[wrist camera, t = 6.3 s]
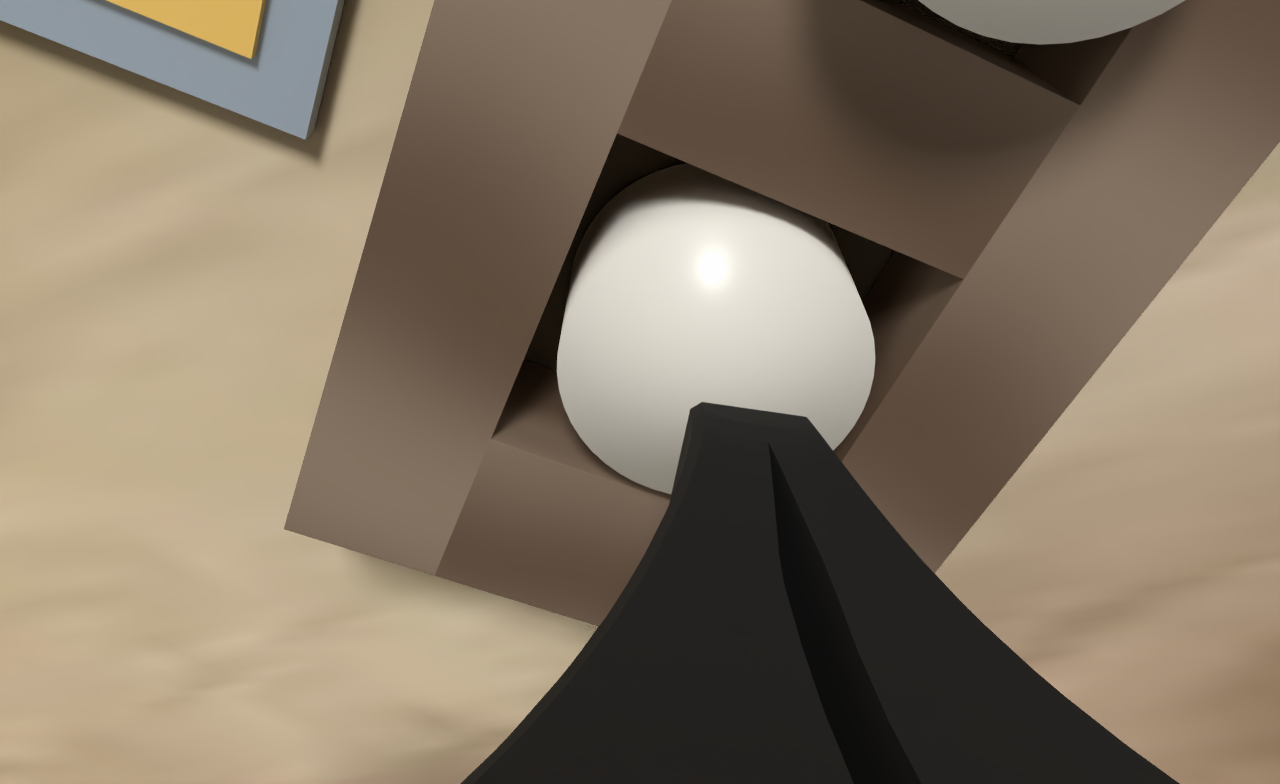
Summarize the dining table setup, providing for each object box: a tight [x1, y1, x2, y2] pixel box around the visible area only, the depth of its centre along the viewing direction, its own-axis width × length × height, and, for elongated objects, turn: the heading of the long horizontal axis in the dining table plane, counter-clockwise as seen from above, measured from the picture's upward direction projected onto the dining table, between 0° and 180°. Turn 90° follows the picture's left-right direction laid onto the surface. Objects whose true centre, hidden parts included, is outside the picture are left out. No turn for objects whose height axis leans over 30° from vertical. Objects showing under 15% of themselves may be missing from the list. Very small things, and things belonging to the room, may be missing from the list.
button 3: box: [557, 163, 875, 494], centre depth 14 cm, size 4×4×2 cm
